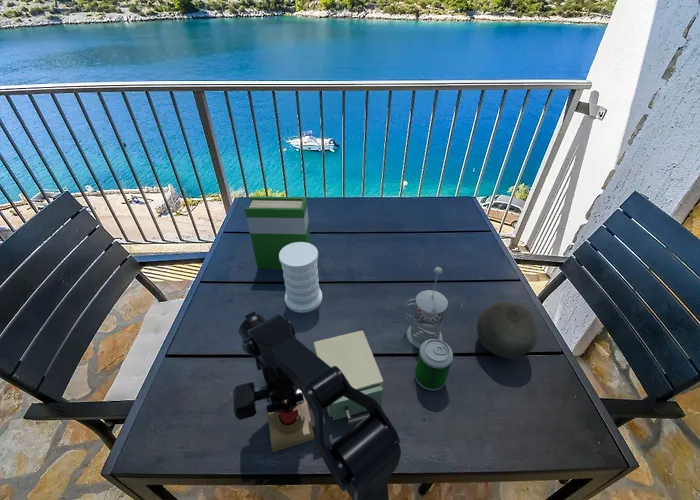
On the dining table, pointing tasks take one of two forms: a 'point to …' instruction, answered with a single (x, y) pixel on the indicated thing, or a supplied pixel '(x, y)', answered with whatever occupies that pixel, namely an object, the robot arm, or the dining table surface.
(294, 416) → the red button
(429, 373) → the soda can
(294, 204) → the hardback book
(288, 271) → the decorative container
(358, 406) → the drawer
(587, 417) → the dining table surface
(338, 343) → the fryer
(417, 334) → the french press
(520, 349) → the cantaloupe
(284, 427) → the control block
